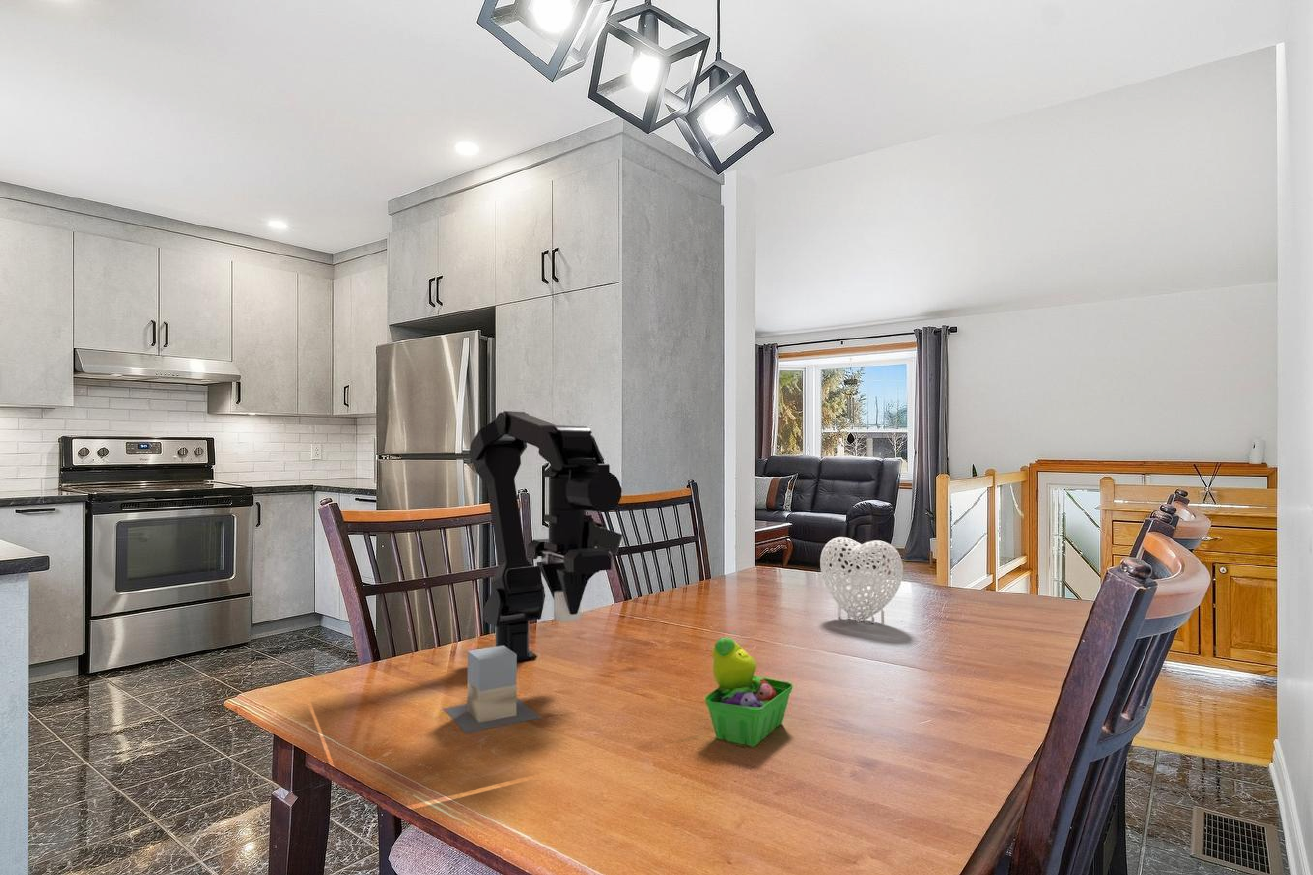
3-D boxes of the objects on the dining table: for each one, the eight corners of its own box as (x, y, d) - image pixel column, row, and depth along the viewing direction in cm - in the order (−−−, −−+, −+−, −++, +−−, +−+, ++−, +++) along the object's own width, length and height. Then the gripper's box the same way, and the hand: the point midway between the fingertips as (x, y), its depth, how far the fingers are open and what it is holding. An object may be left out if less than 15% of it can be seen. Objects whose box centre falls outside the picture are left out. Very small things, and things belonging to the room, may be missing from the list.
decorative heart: (913, 624, 147) (913, 540, 148) (887, 633, 140) (887, 545, 140) (836, 610, 160) (836, 533, 161) (808, 618, 153) (808, 537, 153)
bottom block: (467, 710, 97) (467, 680, 97) (503, 704, 99) (503, 674, 99) (479, 722, 93) (479, 691, 93) (516, 715, 95) (516, 684, 95)
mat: (443, 711, 98) (443, 708, 98) (514, 698, 103) (514, 695, 103) (465, 736, 89) (465, 733, 89) (541, 721, 94) (541, 718, 94)
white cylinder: (550, 617, 110) (550, 591, 110) (574, 614, 112) (574, 588, 112) (560, 623, 107) (560, 595, 107) (585, 619, 109) (585, 593, 109)
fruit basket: (759, 753, 84) (759, 656, 85) (692, 737, 89) (692, 645, 89) (795, 722, 94) (795, 635, 94) (733, 709, 99) (733, 626, 99)
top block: (467, 680, 97) (467, 650, 97) (503, 674, 99) (503, 645, 100) (479, 691, 93) (479, 659, 93) (516, 684, 95) (516, 654, 95)
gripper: (644, 509, 106) (644, 617, 106) (588, 502, 122) (588, 595, 121) (575, 513, 100) (575, 626, 100) (526, 505, 116) (525, 603, 116)
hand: (567, 611), depth 109 cm, fingers closed on white cylinder, 4 cm apart
